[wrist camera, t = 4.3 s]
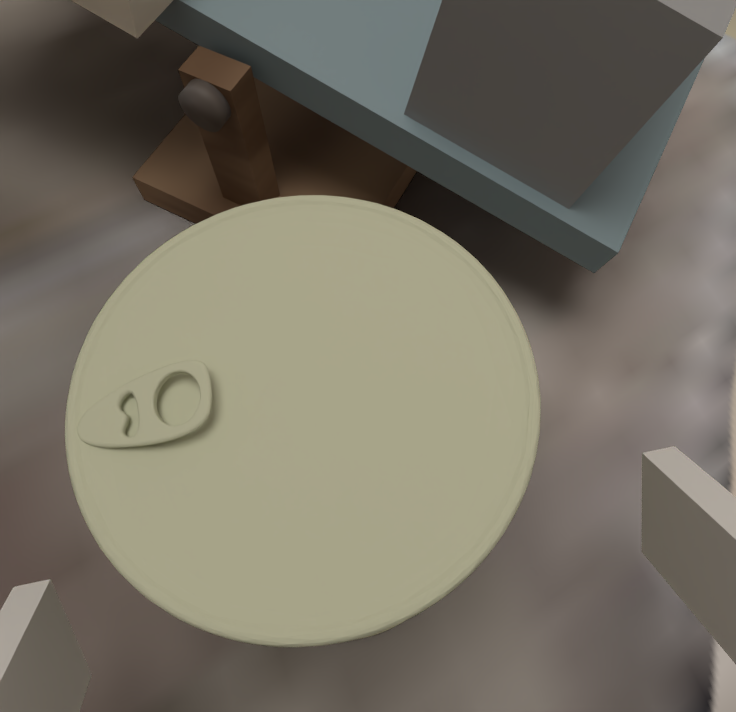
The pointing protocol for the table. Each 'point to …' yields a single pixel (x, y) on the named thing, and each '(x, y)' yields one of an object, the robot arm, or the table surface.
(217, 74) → the pivot stand
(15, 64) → the table surface
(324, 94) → the balance beam
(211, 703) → the table surface
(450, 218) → the table surface
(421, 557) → the can
